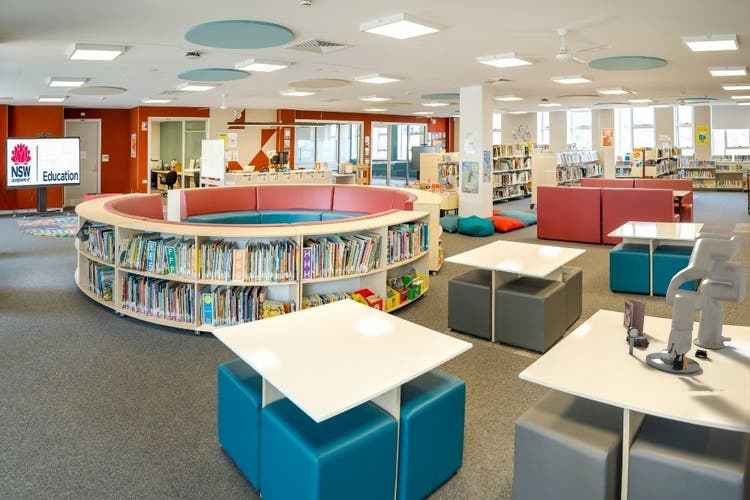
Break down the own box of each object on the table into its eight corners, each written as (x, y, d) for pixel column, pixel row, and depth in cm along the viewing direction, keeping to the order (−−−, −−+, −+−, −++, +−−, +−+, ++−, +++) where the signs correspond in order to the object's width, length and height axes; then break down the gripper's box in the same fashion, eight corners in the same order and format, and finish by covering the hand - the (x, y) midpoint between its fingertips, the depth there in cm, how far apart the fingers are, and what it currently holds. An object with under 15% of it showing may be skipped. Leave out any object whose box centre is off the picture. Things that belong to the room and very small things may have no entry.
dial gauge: (639, 354, 246) (642, 324, 244) (647, 358, 240) (650, 328, 238) (620, 354, 246) (623, 324, 243) (627, 359, 240) (630, 329, 237)
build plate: (683, 360, 241) (684, 350, 240) (686, 355, 246) (687, 345, 246) (716, 366, 233) (717, 356, 232) (718, 361, 239) (719, 351, 238)
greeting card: (621, 325, 287) (623, 298, 284) (636, 326, 286) (638, 298, 283) (629, 332, 275) (631, 304, 273) (644, 333, 275) (647, 304, 272)
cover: (672, 358, 234) (673, 347, 233) (682, 364, 227) (683, 353, 226) (656, 358, 234) (657, 347, 233) (665, 364, 227) (667, 353, 226)
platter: (680, 355, 241) (682, 341, 240) (710, 373, 221) (712, 358, 220) (636, 356, 240) (637, 342, 239) (662, 374, 220) (664, 359, 219)
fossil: (653, 350, 250) (644, 331, 249) (633, 357, 253) (624, 338, 252) (648, 341, 260) (639, 323, 259) (629, 348, 263) (620, 330, 262)
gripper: (682, 319, 224) (678, 362, 227) (662, 325, 215) (658, 369, 219) (701, 324, 217) (697, 368, 221) (681, 331, 209) (677, 376, 212)
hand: (677, 368), depth 220 cm, fingers closed
